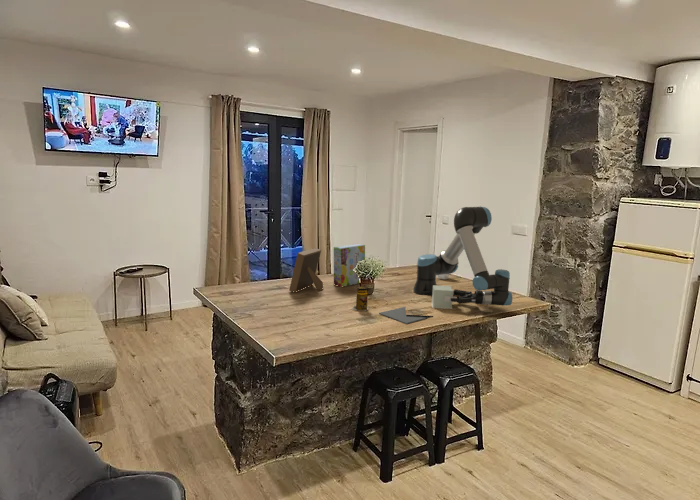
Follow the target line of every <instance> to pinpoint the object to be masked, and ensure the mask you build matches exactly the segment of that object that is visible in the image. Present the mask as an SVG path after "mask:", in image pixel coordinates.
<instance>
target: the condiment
mask: <svg viewBox="0 0 700 500" xmlns="http://www.w3.org/2000/svg"><path fill="white" fill-rule="evenodd" d="M368 293H369V292H368V288H367V286H358V287H357V290H356V295H355V296H356V299H355V300H356V302H355V304H356V305H354V306H353V307H352V308H351V309H350V310H351V311H352V310H353V311H359V312H360V311H361V312H367V311H368V310H369V308H370V307H368V297H369V296H368Z"/></svg>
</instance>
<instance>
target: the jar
mask: <svg viewBox="0 0 700 500" xmlns="http://www.w3.org/2000/svg"><path fill="white" fill-rule="evenodd" d="M449 276H450V274H443V275H436V279H438V280H448V279H450V277H449Z"/></svg>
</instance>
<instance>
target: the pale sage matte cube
mask: <svg viewBox="0 0 700 500" xmlns="http://www.w3.org/2000/svg"><path fill="white" fill-rule="evenodd" d="M436 285H437V284H436ZM436 285H433V292H432V295H431V296H432V297H431V302H432V305H433V308H432V309H444V308H451V309H450V310H453V309H452V308H453V302H444V296H448V297H454V296H453V290H454V289H453V288H452V286H451V285H437V286H436ZM432 305H431V306H432Z"/></svg>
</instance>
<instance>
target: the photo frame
mask: <svg viewBox="0 0 700 500" xmlns="http://www.w3.org/2000/svg"><path fill="white" fill-rule="evenodd" d="M321 253H322V250H321V249H319V248H316V247H314V248H311V249H306V250H303V251H299V252H298V253H297V254H296V260H295V264H294V269H293V272H292V277H291V281H290V285H289V289H288V291H289V292H291V291H294V292H296V291H298V290H301V289H303V288H305V287H308V286H310V285H312V284H313V286H314V287H315V289H316V290H317V289H321V290H323V289H324V282H323V281H322V280H321V279H320V278H319V276H318V275H317V274H316V273H317V269H318V264H319V261H320V257H321ZM310 287H311V286H310ZM308 288H309V287H308ZM322 288H323V289H322ZM303 290H304V289H303ZM301 291H302V290H301ZM294 292H293V293H294ZM296 293H297V292H296Z"/></svg>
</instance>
